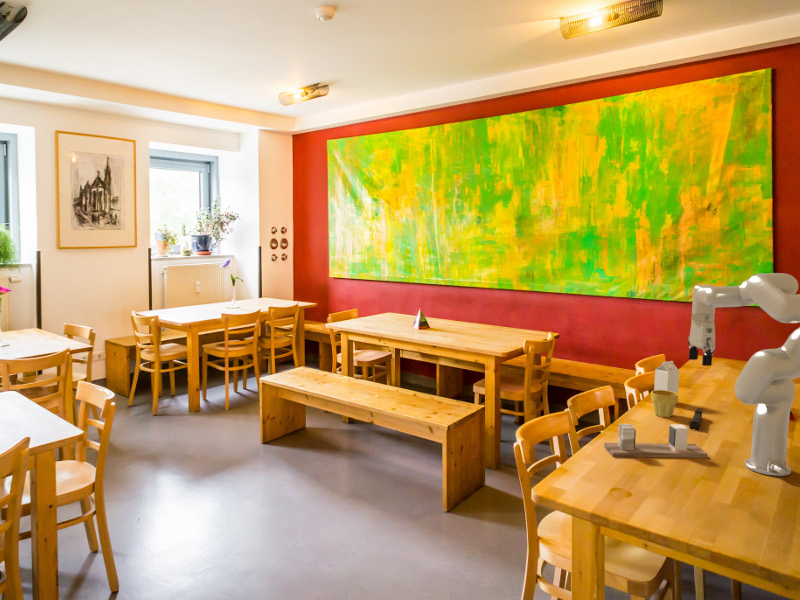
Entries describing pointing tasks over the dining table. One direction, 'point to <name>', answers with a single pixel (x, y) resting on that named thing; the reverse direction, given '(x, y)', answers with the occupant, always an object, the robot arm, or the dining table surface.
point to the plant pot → (664, 402)
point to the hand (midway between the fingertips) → (699, 362)
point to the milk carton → (667, 377)
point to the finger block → (678, 437)
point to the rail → (647, 447)
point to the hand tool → (696, 420)
